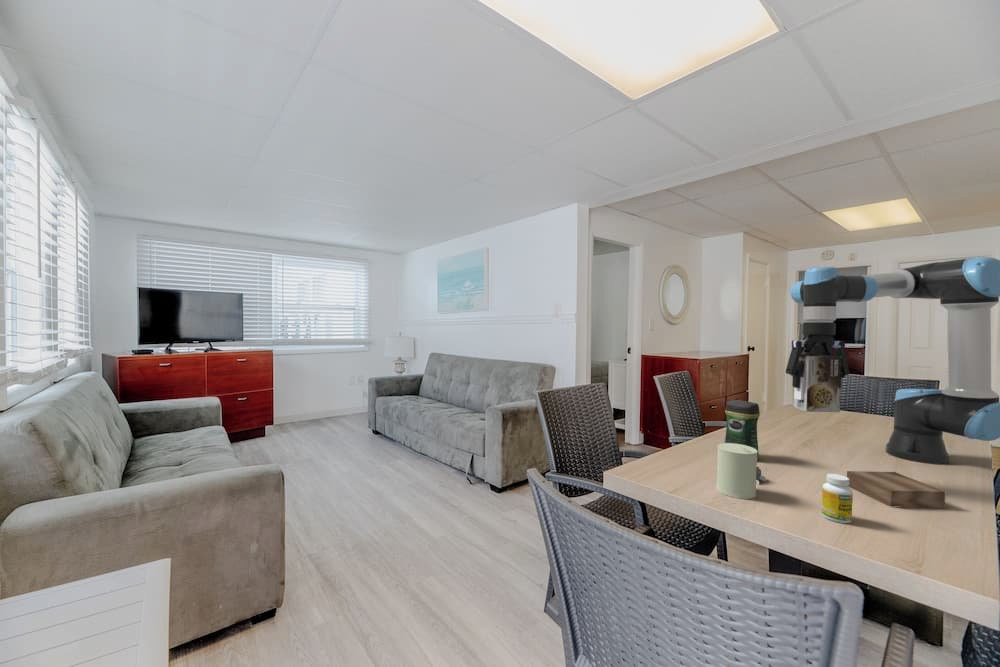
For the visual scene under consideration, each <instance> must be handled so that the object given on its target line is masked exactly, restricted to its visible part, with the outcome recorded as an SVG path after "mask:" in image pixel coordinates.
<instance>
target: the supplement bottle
mask: <svg viewBox="0 0 1000 667" xmlns="http://www.w3.org/2000/svg"><path fill="white" fill-rule="evenodd" d="M825 480H826V482H825V483H823V484H822V490H821V492H822V493H821V495H822V496H821V498H822V499H821V514H822V516H823V517H824V518H825V519H827V520H829V521H832V522H834V523H839V524H850V523H851V522H852V517H853V513H852V512H853V498H854V497H853V496H854V494H853V492H854V491H853V489H852V488H851V487H849V486H848V485H849V478H847V476H846V475H845V476H844V475H842V474H836V473H828V474H826V479H825Z"/></svg>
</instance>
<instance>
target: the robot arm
mask: <svg viewBox="0 0 1000 667" xmlns="http://www.w3.org/2000/svg"><path fill="white" fill-rule="evenodd" d="M790 297H791V299H792V300H793V301H794V302H795V303H797V304H803V307H802V308H803V309H802V310H803V312H802V320H803V321H805V322H803V323H802V332H801V333H802V335H803V338H802V339H801V340H792V341H791V352H790V353H789V358H788V361H787V365H786V368H785V373H786V374H788V375H790V377H792V388H794V387H795V392H794V391H793V399H794V398H795V399H799V400H804V377H801V376H802V374H803V372H804V362H802V361H800V360H799V359H800V355H801V354H804V355H811V356H814V355H815V354H825V355H830V356H832V355H836V356H841V380H842V378H843V379H844V378H846V376H849V375H850V370H849V364H848V360H847V355H846V349H845V348H846V342H845V341H843V340H835V338H834V336H836V327H837V326H836V324H837V323H835V321H836V320H837V303H845V302H847V303H848V302H849V303H850V302H851V303H852V302H854V303H862V302H868V301H870V300H872V299H873V298H874V299H875V298H881V297H882V298H883V297H890V298H892V299H893V298H894V299H928V300H930V299H931V300H939V301H940V304H939V305H940V306H941V307H943V308H945V309H946V310H947V357H948V358H947V360H948V361H947V363H948V372H947V374H948V375H947V376H948V386H947V387H946V388H944V389H934V388H933V389H932V388H929V389H928V388H900V389H898V390H896V391H895V398H894V401H893V402H894V406H893V407H894V413H893V431H892V433H891V435H890V437H889V440H888V442H887V443H886V444H885V453H887V454H888V455H891V456H894V457H897V458H900V459H904V460H909V461H914V462H919V463H926V464H936V465H946V464H949V463H950V454H949V452H947V448H946V445H945V442H944V438H943V433H947V434H952V435H955V436H958V437H965V438H968V439H971V440H979V441H984V442H985V441H987V442H992V441H996V440H999V439H1000V395H999V393H997V392H995V391H994V390H993V389H992V325H991V324H992V320H991V318H992V316H991V314H992V313H991V312H992V311H991V309H992V308H993V307H995V306H996V305H997V304H998V303H999V302H1000V301H999V300H1000V298H999V297H1000V259H997V258H995V257H990V256H989V257H988V256H985V257H969V258H964V259H954V260H947V261H946V260H944V261H940V262H939V261H938V262H937V261H936V262H930V263H925V264H920V265H915V266H910V267H904V268H899V269H893V270H891V271H889V272H888V273H887V272H886V273H875V274H874V273H873V274H864V275H863V274H859V275H848V274H847V275H839V271H838V268H837V267H835V266H817V267H811V268H807V269H806V270H805V272H804V280H799V281H797V282H795V283H794V284H793V285H792V287H791V289H790ZM832 348H833V349H832ZM841 388H842V385H841V386H840V389H841ZM948 462H949V463H948Z"/></svg>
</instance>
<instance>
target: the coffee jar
mask: <svg viewBox="0 0 1000 667" xmlns="http://www.w3.org/2000/svg"><path fill="white" fill-rule="evenodd" d="M724 412H725V416H726V430H725V438H724V443H734V444H741V445H746V446H749V447H752V448H754V449H756V450H757V451H758V453H757V459H758V458H759V455H760V454H759V453H760V452H759V441H758V421H759V419H760V415H761V411H760V406H759V403H758V402H757V403H756V402H752V401H746V400H741V399H729V400H727V401H726V404H725V410H724Z"/></svg>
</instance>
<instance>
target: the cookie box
mask: <svg viewBox="0 0 1000 667" xmlns="http://www.w3.org/2000/svg"><path fill="white" fill-rule="evenodd" d="M799 360H800V361H802V362H804V372H803V374H802V376H801V377H804V400H799V399H795V398H794V397H793V408H795V409H798V410H800V411H803V412H807V413H808V412H809V413H841V388H840V386H841V387H842V379H841V356H836V355H835V354H834V355H832V356H830V355H825V354H815V355H814V356H811V355H804V354H802V353H801V355H800V359H799ZM794 392H795V387H793V393H794Z"/></svg>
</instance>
